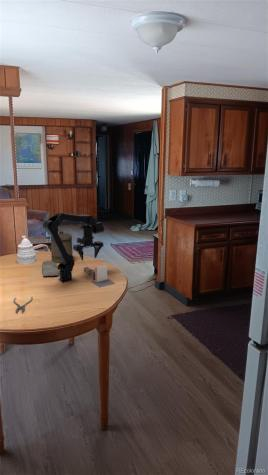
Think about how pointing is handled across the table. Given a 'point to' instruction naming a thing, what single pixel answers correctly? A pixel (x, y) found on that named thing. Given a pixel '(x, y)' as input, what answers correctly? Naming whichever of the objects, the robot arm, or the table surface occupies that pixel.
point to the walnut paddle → (90, 272)
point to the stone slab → (49, 268)
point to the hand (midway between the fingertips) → (88, 259)
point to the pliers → (22, 306)
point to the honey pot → (26, 252)
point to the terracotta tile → (101, 273)
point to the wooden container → (66, 242)
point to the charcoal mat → (103, 283)
